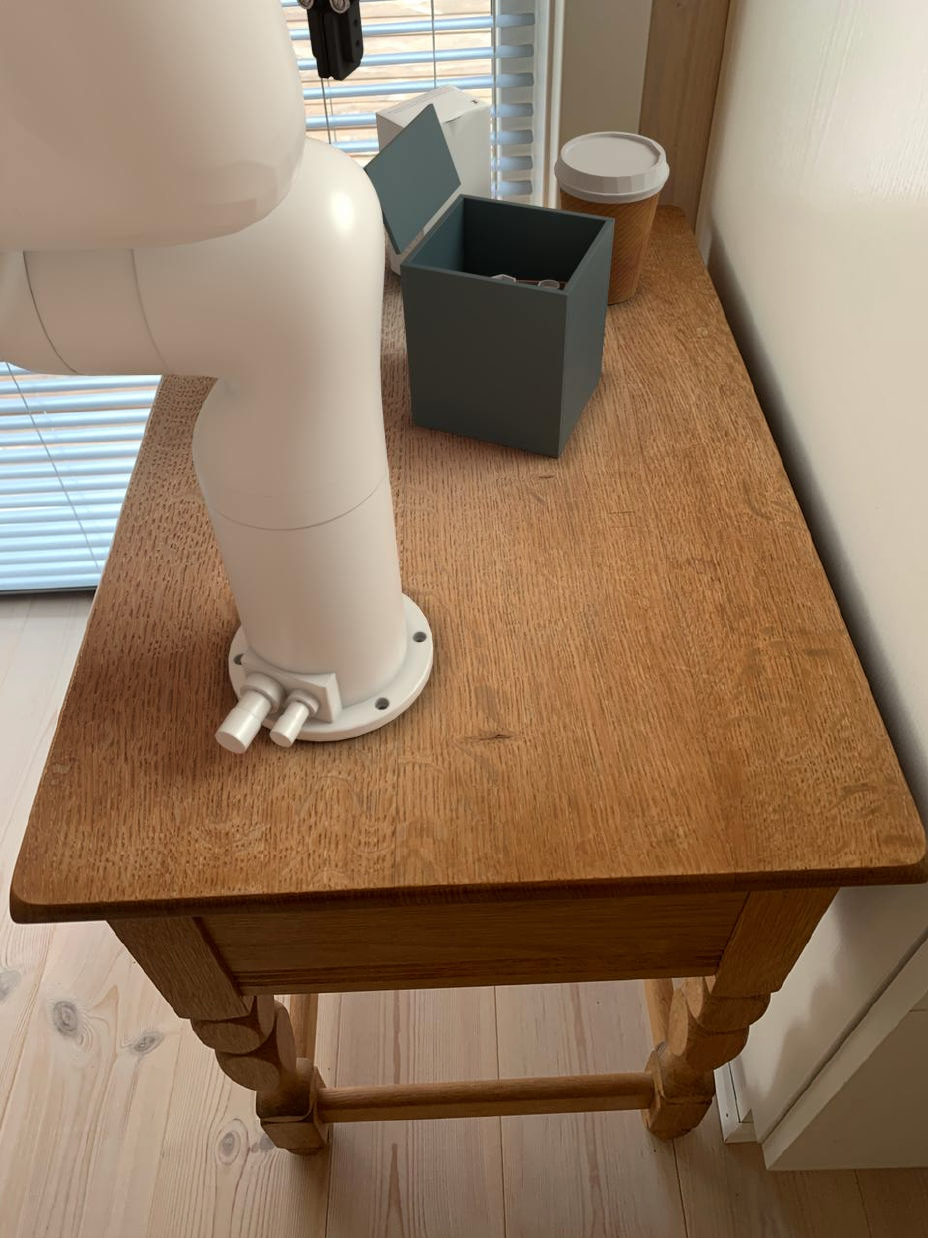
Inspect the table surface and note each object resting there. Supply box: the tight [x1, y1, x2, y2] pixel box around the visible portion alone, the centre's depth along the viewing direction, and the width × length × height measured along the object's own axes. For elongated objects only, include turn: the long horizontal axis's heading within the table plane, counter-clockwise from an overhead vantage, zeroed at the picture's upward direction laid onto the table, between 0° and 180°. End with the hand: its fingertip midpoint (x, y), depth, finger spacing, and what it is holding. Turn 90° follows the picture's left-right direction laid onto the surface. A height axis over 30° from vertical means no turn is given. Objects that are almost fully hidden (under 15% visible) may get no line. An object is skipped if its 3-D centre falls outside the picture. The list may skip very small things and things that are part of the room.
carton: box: [400, 194, 615, 459], centre depth 74 cm, size 12×11×14 cm
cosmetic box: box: [375, 83, 493, 277], centre depth 87 cm, size 8×6×15 cm
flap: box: [362, 103, 461, 255], centre depth 68 cm, size 6×11×1 cm
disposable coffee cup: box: [553, 131, 670, 305], centre depth 85 cm, size 10×10×12 cm
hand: (340, 71), depth 65 cm, fingers closed
